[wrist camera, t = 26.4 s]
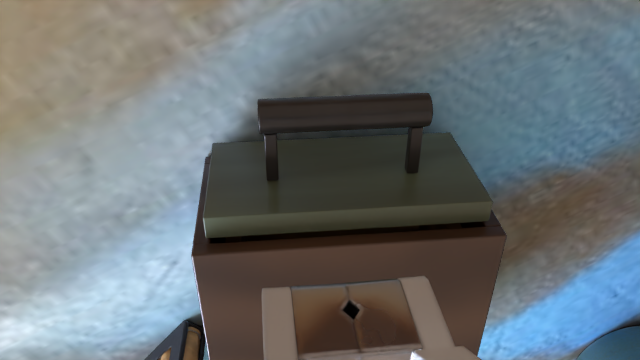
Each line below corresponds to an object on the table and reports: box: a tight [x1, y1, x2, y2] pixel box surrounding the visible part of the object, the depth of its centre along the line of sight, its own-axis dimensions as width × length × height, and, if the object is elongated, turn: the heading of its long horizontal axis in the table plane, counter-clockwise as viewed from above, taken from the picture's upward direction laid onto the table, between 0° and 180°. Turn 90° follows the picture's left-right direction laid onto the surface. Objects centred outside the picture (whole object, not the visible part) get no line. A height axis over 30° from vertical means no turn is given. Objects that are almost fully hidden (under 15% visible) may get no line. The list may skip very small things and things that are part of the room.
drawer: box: [203, 92, 493, 243], centre depth 31 cm, size 19×13×7 cm
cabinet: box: [191, 157, 507, 360], centre depth 33 cm, size 16×15×9 cm
